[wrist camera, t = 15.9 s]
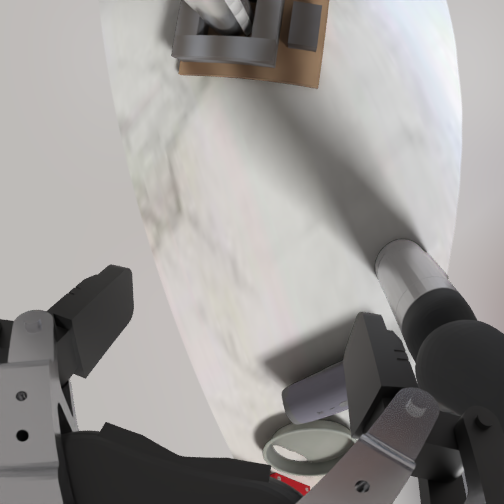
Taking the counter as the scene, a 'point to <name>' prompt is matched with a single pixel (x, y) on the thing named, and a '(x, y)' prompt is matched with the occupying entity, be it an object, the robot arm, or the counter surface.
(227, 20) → the paper towel roll
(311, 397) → the bluetooth speaker
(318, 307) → the counter surface
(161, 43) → the counter surface
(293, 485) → the food packaging
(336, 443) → the cake pan
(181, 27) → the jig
